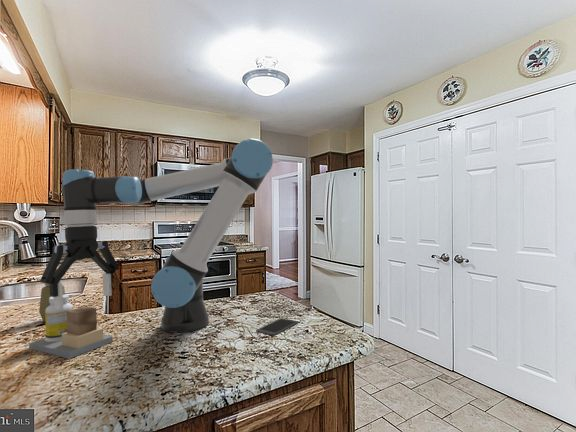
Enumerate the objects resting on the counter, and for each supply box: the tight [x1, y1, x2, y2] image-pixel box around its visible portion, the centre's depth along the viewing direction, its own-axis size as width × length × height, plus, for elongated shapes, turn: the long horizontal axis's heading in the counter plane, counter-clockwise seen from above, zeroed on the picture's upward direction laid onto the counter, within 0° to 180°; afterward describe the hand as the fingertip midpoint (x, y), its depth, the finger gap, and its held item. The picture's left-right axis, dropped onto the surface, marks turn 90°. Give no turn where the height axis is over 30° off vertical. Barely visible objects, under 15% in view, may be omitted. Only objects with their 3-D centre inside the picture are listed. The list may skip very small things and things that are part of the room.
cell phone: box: [256, 317, 299, 337], centre depth 100 cm, size 7×14×1 cm, turn 145°
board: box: [28, 327, 114, 360], centre depth 89 cm, size 18×12×4 cm, turn 66°
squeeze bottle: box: [38, 279, 66, 323], centre depth 112 cm, size 8×8×18 cm
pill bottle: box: [45, 294, 74, 340], centre depth 91 cm, size 6×6×12 cm
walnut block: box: [67, 306, 98, 336], centre depth 87 cm, size 5×5×6 cm
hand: (84, 301), depth 87 cm, fingers open, 13 cm apart
